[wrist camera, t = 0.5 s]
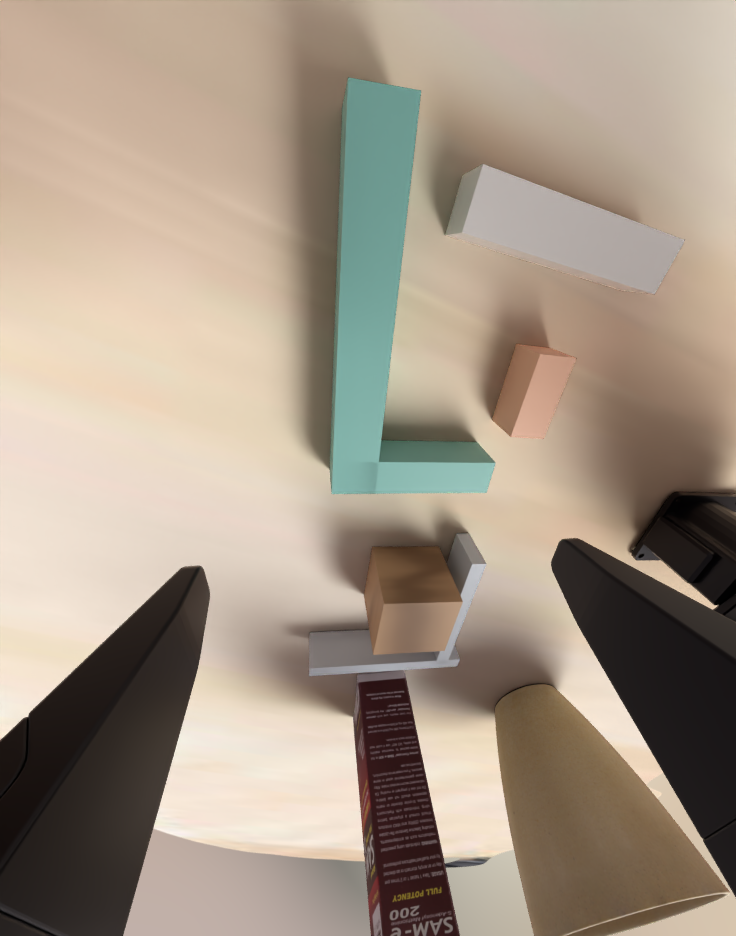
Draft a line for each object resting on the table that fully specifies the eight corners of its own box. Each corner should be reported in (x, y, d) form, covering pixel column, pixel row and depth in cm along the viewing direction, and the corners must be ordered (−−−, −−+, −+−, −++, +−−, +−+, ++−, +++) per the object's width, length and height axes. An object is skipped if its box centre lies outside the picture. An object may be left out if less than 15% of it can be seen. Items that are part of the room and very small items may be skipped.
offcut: (547, 347, 20) (576, 357, 17) (520, 421, 22) (543, 438, 20) (514, 343, 19) (540, 354, 17) (490, 418, 21) (510, 436, 19)
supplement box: (354, 672, 33) (384, 961, 19) (405, 667, 34) (467, 943, 20) (350, 719, 37) (372, 982, 24) (395, 713, 38) (441, 966, 24)
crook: (553, 143, 15) (599, 122, 13) (468, 468, 23) (486, 492, 21) (341, 108, 14) (348, 77, 11) (329, 467, 22) (331, 493, 19)
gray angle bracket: (481, 533, 26) (500, 563, 23) (445, 633, 32) (457, 666, 29) (316, 532, 24) (316, 565, 21) (309, 639, 30) (308, 676, 27)
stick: (459, 176, 15) (483, 163, 13) (641, 242, 18) (685, 239, 16) (443, 235, 16) (462, 232, 14) (617, 290, 19) (654, 294, 17)
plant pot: (436, 725, 41) (499, 960, 27) (525, 651, 35) (660, 900, 22) (525, 739, 46) (613, 941, 33) (614, 677, 41) (766, 889, 27)
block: (438, 545, 26) (462, 601, 22) (424, 592, 29) (444, 650, 24) (371, 545, 25) (384, 604, 21) (363, 593, 28) (373, 654, 23)
